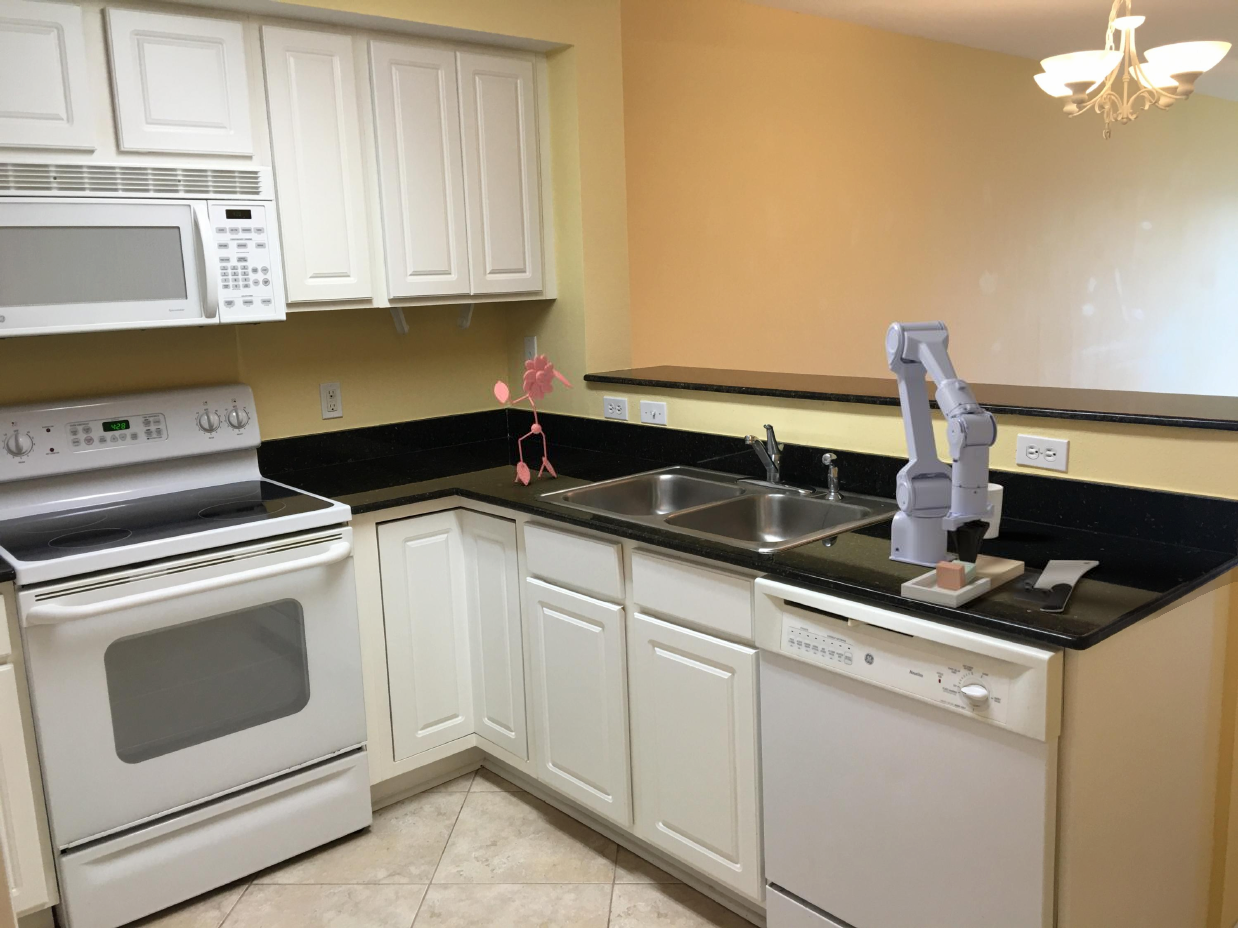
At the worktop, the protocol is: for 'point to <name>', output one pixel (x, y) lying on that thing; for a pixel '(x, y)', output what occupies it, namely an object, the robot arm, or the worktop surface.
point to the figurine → (537, 385)
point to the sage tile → (968, 570)
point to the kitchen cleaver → (1061, 581)
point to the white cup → (996, 499)
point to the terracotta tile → (950, 576)
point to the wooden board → (997, 569)
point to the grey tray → (942, 590)
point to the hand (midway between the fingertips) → (967, 563)
